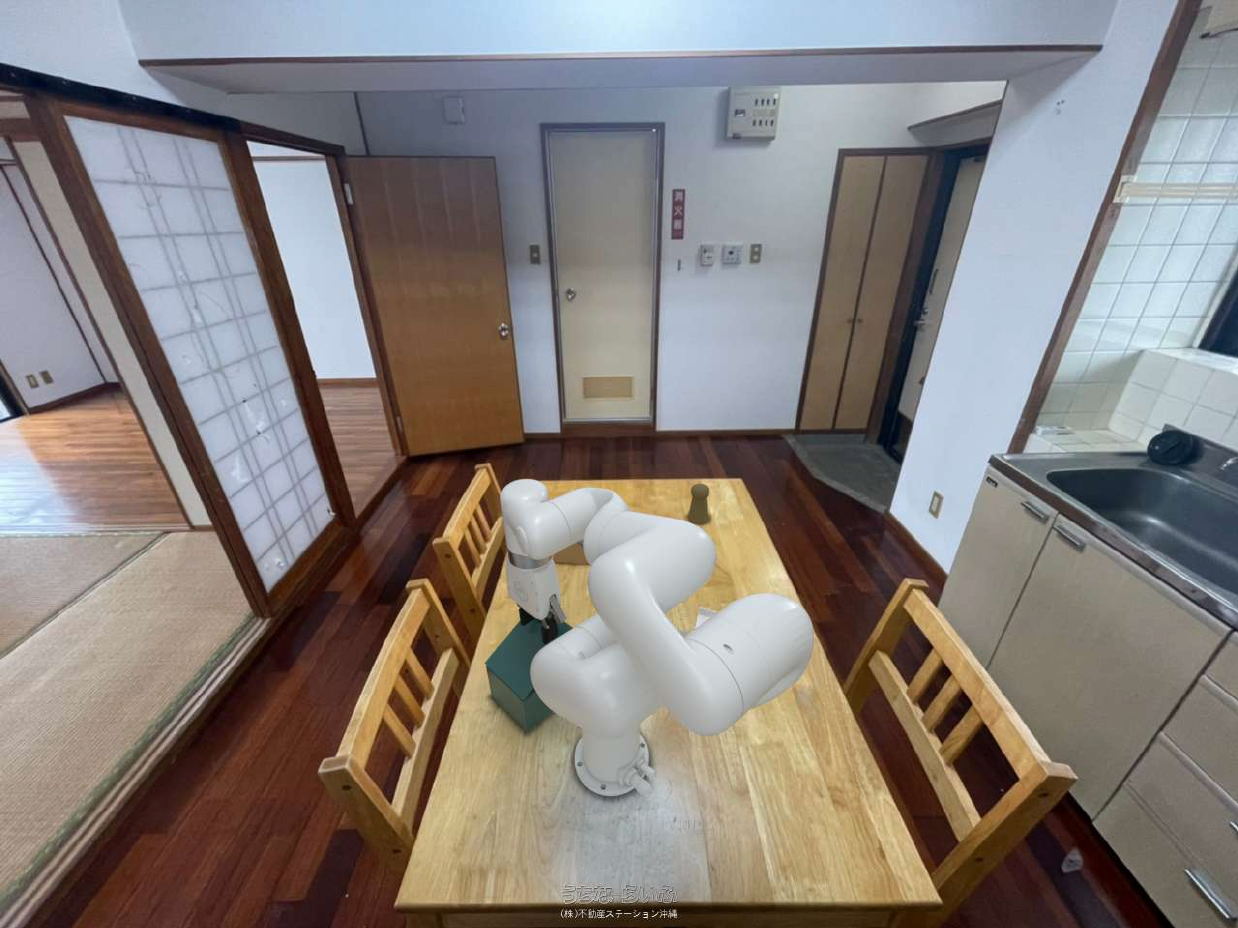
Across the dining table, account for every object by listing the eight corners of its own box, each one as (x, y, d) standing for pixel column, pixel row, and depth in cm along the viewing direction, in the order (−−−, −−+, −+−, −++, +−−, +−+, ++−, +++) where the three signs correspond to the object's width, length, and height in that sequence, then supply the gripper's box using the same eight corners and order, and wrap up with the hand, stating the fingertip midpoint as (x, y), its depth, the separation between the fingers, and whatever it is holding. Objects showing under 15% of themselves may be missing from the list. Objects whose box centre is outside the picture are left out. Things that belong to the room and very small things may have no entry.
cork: (684, 514, 154) (686, 482, 149) (702, 511, 156) (705, 479, 151) (693, 525, 149) (695, 493, 144) (711, 521, 151) (714, 489, 145)
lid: (538, 602, 101) (525, 589, 97) (577, 631, 94) (565, 618, 90) (486, 664, 95) (471, 653, 92) (523, 700, 89) (509, 690, 85)
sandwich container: (608, 565, 133) (606, 517, 126) (549, 562, 135) (545, 514, 128) (611, 545, 141) (610, 498, 134) (556, 543, 142) (552, 496, 135)
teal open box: (546, 654, 108) (543, 625, 104) (582, 685, 101) (581, 655, 97) (491, 695, 99) (485, 665, 95) (527, 732, 92) (523, 701, 88)
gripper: (482, 539, 89) (495, 617, 97) (545, 585, 78) (553, 668, 87) (517, 521, 94) (527, 597, 102) (581, 562, 83) (586, 643, 92)
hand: (539, 629), depth 94 cm, fingers closed on lid, 5 cm apart
